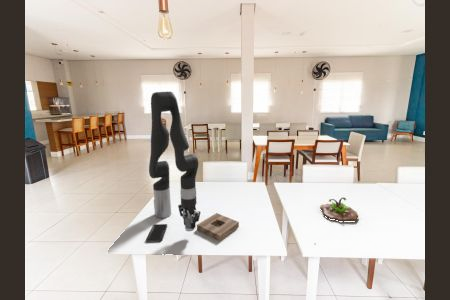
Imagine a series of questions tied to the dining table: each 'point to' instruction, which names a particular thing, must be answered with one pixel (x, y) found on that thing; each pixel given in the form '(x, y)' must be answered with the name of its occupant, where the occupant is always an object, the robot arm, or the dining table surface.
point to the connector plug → (188, 223)
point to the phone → (157, 233)
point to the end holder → (215, 232)
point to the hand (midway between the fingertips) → (189, 226)
